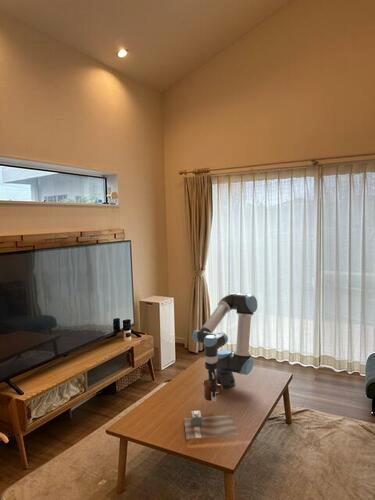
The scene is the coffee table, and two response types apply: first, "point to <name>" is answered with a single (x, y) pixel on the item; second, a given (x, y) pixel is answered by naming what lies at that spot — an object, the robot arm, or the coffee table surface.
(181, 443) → the coffee table surface
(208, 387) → the mug
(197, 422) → the block
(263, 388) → the coffee table surface
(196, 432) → the board
